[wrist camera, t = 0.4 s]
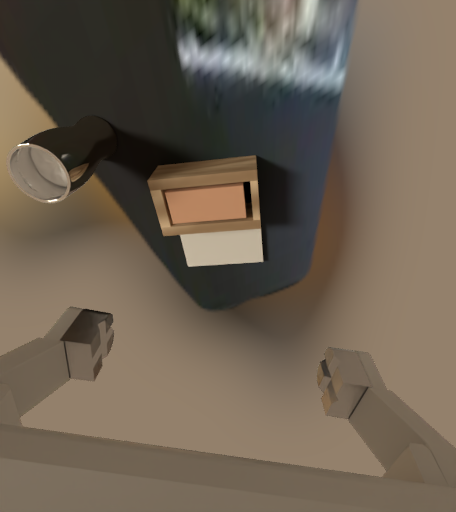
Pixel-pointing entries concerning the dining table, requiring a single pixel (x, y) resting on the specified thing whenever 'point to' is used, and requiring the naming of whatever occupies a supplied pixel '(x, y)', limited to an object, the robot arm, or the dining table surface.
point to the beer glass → (60, 158)
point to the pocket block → (202, 176)
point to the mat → (223, 247)
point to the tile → (207, 203)
